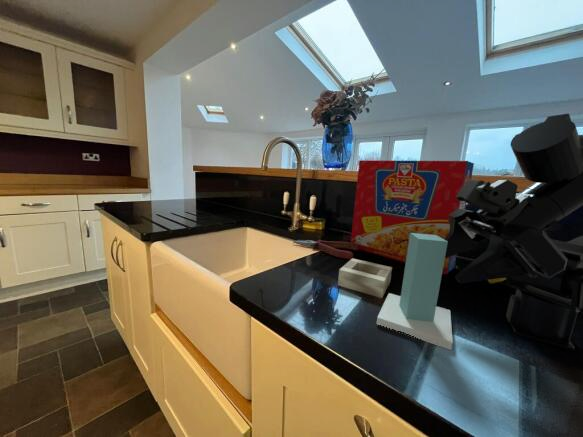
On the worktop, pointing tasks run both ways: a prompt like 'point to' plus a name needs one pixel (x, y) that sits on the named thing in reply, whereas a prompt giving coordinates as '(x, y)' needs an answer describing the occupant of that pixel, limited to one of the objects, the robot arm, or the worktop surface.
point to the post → (422, 276)
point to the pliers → (330, 247)
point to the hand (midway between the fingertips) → (443, 268)
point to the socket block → (365, 277)
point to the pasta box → (406, 203)
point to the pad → (417, 323)
